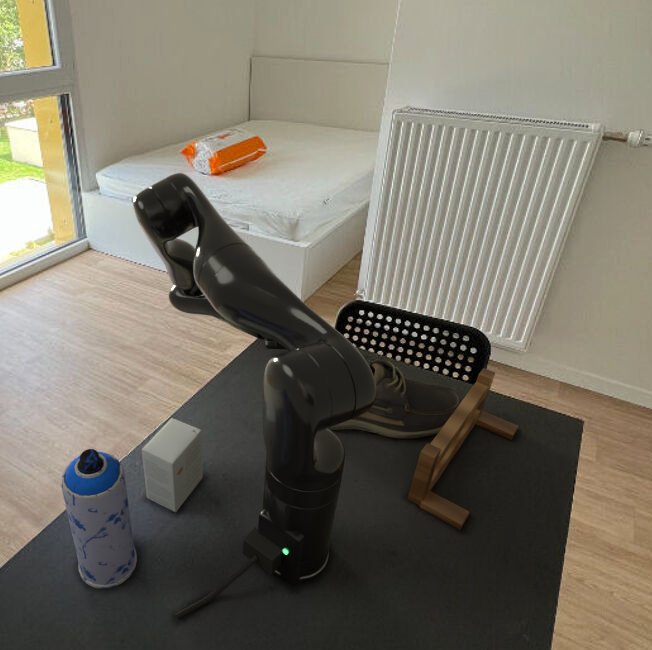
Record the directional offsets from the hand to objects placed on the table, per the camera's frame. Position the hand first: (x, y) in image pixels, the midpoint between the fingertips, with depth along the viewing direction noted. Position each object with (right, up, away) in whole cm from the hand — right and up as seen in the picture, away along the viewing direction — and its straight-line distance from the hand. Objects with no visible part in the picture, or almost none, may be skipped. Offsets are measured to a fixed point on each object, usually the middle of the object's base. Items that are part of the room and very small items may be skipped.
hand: (326, 346), depth 97 cm
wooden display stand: (+21, -19, -10) cm, 30 cm away
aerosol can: (-35, -28, -24) cm, 51 cm away
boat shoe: (+9, -13, -1) cm, 16 cm away
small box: (-27, -22, -14) cm, 37 cm away
